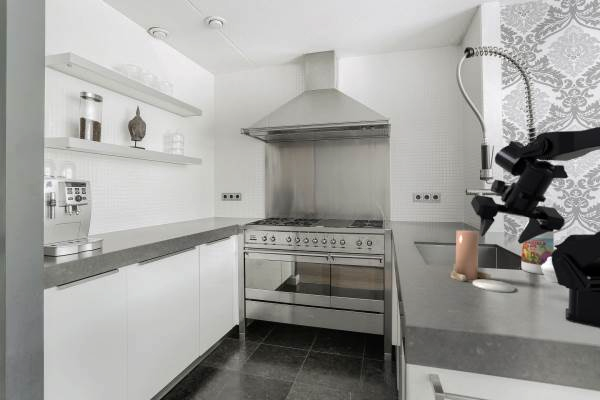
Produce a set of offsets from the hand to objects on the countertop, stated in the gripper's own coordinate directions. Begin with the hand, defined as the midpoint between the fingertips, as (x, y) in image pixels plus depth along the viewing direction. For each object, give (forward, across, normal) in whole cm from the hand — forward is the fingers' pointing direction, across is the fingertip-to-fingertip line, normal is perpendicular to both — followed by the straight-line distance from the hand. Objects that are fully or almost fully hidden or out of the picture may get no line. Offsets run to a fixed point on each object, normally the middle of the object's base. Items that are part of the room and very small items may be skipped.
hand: (500, 238), depth 78 cm
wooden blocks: (+15, +2, 0) cm, 15 cm away
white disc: (+10, 0, +7) cm, 12 cm away
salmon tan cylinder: (+15, +2, 0) cm, 15 cm away
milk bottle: (+17, -22, -11) cm, 30 cm away
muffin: (+12, -20, -2) cm, 23 cm away
